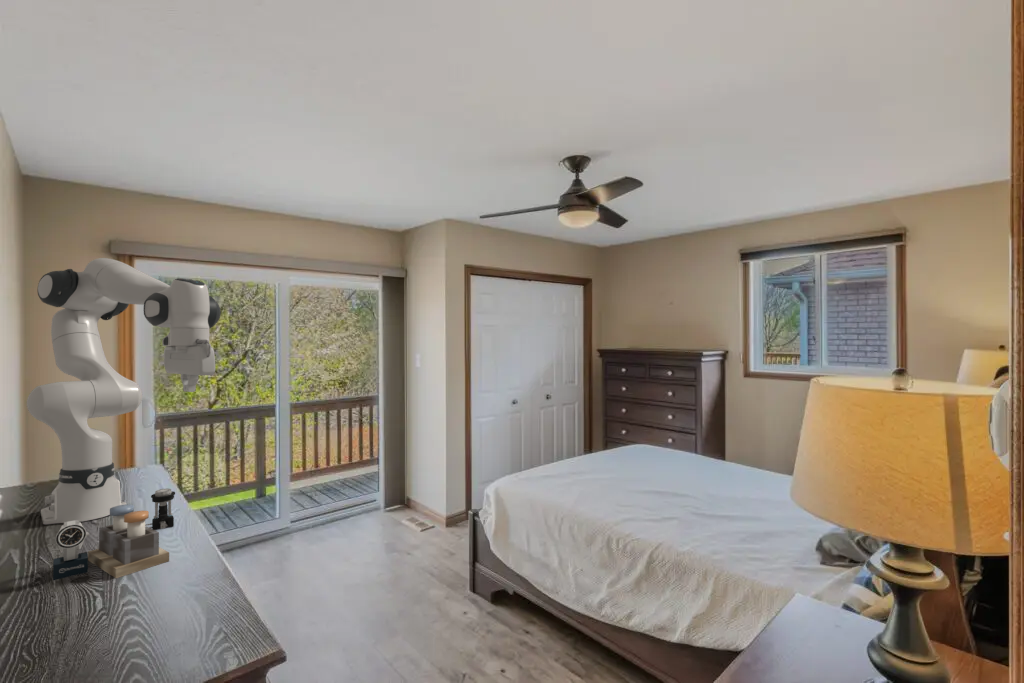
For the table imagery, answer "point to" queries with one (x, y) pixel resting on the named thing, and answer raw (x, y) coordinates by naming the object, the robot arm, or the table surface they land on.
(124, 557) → the mount
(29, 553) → the table surface
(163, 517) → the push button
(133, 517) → the knob
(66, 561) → the watch
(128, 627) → the table surface
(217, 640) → the table surface
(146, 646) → the table surface
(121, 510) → the knob
